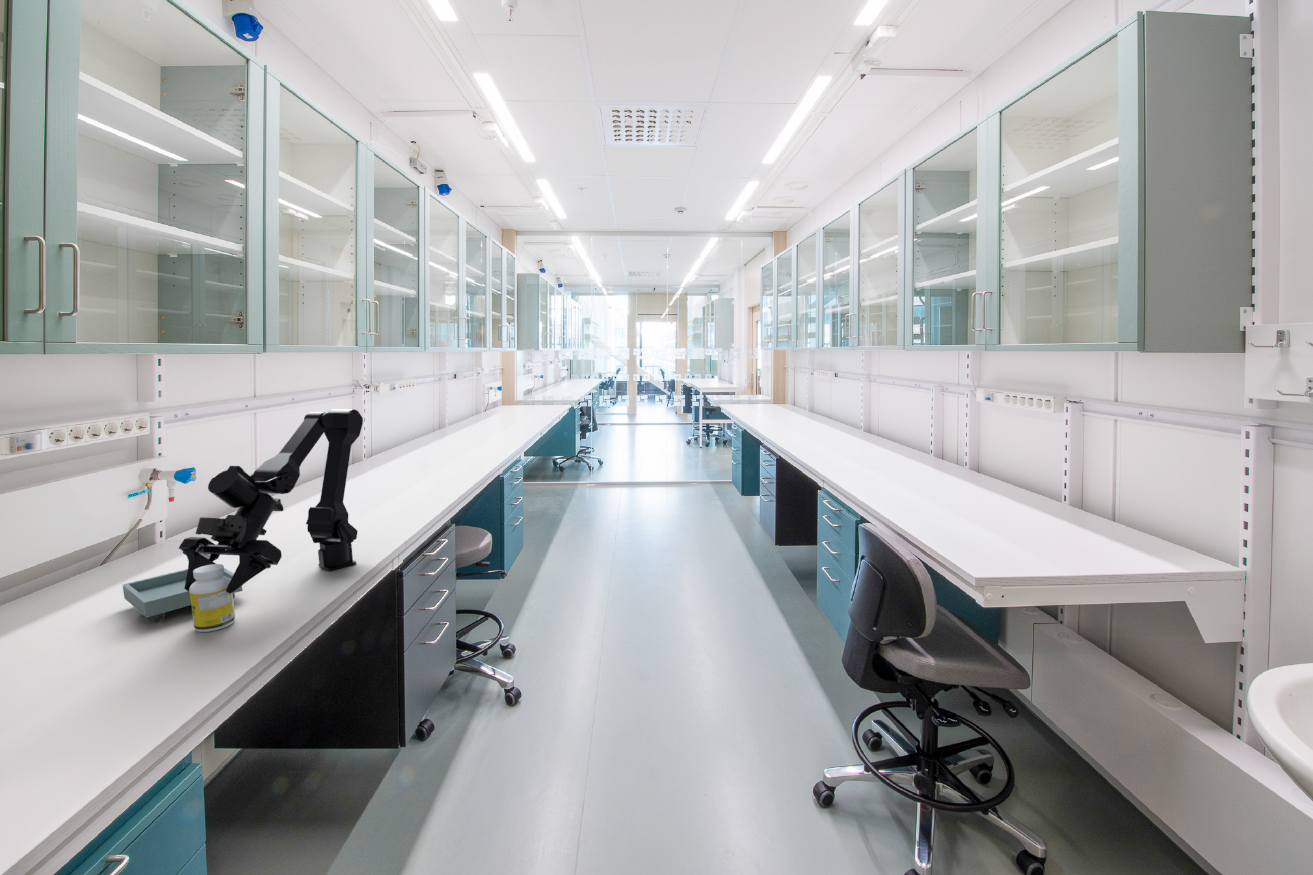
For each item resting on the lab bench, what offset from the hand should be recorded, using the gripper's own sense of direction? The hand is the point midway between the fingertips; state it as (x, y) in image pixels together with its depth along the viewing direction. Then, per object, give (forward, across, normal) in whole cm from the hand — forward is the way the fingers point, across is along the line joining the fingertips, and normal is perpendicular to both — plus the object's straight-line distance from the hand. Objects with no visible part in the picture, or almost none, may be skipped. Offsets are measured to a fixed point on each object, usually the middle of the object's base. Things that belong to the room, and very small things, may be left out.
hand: (207, 591), depth 112 cm
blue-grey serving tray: (-1, -16, +12) cm, 20 cm away
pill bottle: (+5, 0, +6) cm, 8 cm away
